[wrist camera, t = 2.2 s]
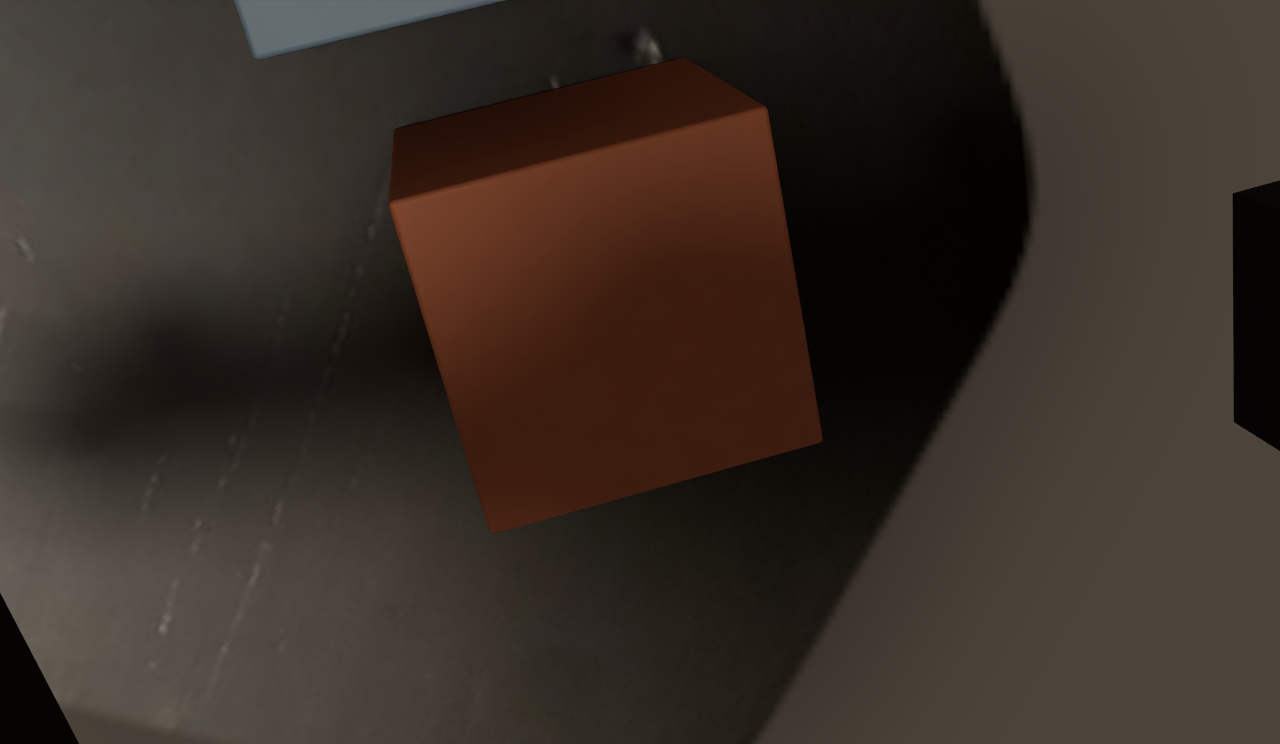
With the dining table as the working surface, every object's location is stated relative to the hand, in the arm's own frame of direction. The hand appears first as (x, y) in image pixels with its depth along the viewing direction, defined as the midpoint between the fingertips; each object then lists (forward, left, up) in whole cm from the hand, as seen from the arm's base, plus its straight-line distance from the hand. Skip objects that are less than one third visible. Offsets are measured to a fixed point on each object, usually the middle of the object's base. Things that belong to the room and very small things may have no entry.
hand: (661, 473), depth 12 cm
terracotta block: (0, 0, -9) cm, 9 cm away
